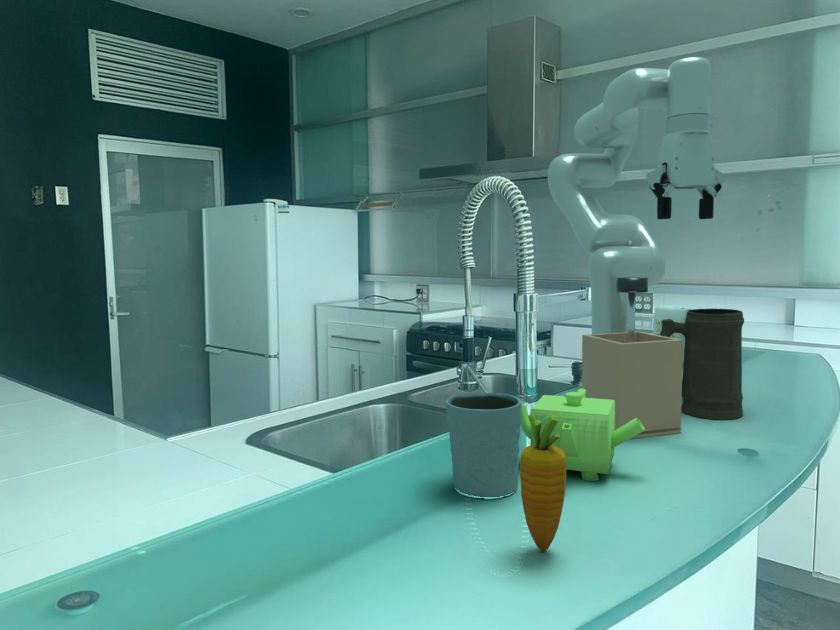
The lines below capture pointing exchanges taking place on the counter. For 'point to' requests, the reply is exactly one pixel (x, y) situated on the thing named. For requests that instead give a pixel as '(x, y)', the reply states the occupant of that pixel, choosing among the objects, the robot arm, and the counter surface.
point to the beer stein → (711, 362)
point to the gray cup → (484, 442)
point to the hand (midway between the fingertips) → (685, 218)
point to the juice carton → (676, 315)
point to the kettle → (582, 430)
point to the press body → (636, 378)
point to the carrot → (543, 483)
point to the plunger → (631, 298)
